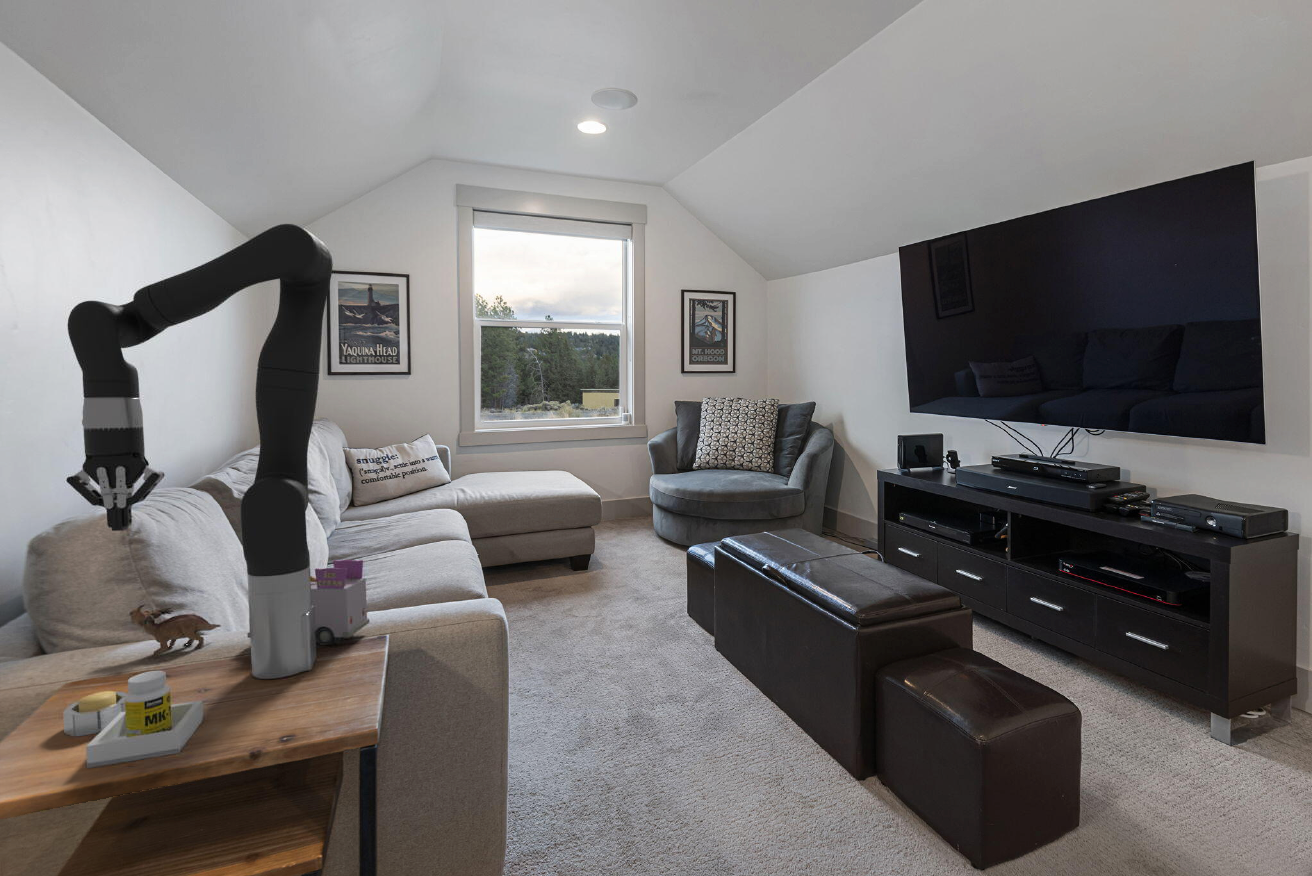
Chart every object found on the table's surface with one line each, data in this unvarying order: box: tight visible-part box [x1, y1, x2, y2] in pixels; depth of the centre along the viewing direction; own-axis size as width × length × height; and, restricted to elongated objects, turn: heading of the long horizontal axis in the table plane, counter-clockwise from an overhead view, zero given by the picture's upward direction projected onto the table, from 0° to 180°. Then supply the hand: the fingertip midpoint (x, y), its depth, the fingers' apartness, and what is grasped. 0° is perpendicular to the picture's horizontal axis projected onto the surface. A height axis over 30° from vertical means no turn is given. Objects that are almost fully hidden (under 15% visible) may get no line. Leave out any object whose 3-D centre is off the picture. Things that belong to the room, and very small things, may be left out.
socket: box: [62, 691, 128, 738], centre depth 90 cm, size 7×7×3 cm
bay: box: [85, 700, 204, 769], centre depth 85 cm, size 10×10×3 cm
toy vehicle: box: [246, 559, 370, 646], centre depth 122 cm, size 9×20×15 cm, turn 88°
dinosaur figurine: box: [128, 604, 222, 660], centre depth 119 cm, size 14×6×9 cm, turn 127°
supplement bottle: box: [125, 670, 172, 737], centre depth 85 cm, size 5×5×8 cm
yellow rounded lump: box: [78, 690, 117, 712], centre depth 90 cm, size 4×4×3 cm
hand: (119, 529), depth 105 cm, fingers closed
